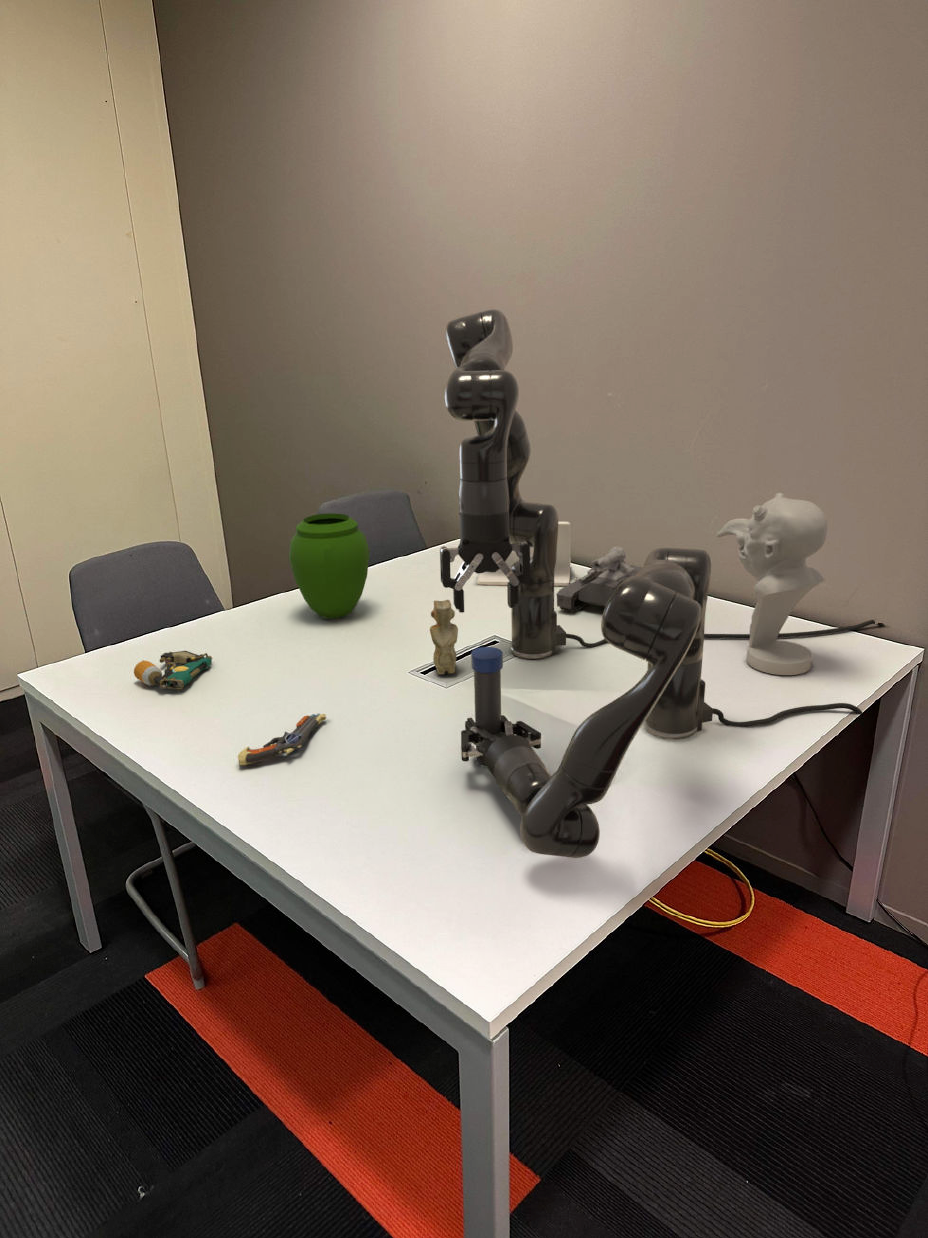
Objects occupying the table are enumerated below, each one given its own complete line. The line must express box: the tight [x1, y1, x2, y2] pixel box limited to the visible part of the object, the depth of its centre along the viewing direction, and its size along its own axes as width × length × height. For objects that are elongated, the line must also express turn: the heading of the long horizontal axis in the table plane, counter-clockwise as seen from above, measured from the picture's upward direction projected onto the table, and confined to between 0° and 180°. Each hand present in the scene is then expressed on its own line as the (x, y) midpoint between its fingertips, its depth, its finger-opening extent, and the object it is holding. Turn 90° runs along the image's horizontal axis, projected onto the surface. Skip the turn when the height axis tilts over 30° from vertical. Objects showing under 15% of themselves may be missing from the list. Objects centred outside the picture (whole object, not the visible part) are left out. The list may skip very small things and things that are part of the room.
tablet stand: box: [476, 521, 572, 587], centre depth 236 cm, size 18×25×17 cm
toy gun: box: [237, 713, 327, 766], centre depth 151 cm, size 3×19×10 cm
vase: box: [288, 512, 370, 620], centre depth 209 cm, size 20×20×24 cm
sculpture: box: [429, 599, 459, 675], centre depth 177 cm, size 6×7×15 cm
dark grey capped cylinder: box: [473, 669, 502, 767], centre depth 141 cm, size 4×4×19 cm
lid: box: [470, 646, 504, 673], centre depth 138 cm, size 5×5×2 cm
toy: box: [556, 546, 643, 613], centre depth 212 cm, size 25×20×15 cm
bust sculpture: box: [716, 492, 828, 676], centre depth 176 cm, size 16×24×35 cm
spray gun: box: [133, 650, 213, 690], centre depth 180 cm, size 4×17×15 cm
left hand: (486, 608), depth 135 cm, fingers open, 7 cm apart
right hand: (483, 720), depth 145 cm, fingers closed on dark grey capped cylinder, 4 cm apart
